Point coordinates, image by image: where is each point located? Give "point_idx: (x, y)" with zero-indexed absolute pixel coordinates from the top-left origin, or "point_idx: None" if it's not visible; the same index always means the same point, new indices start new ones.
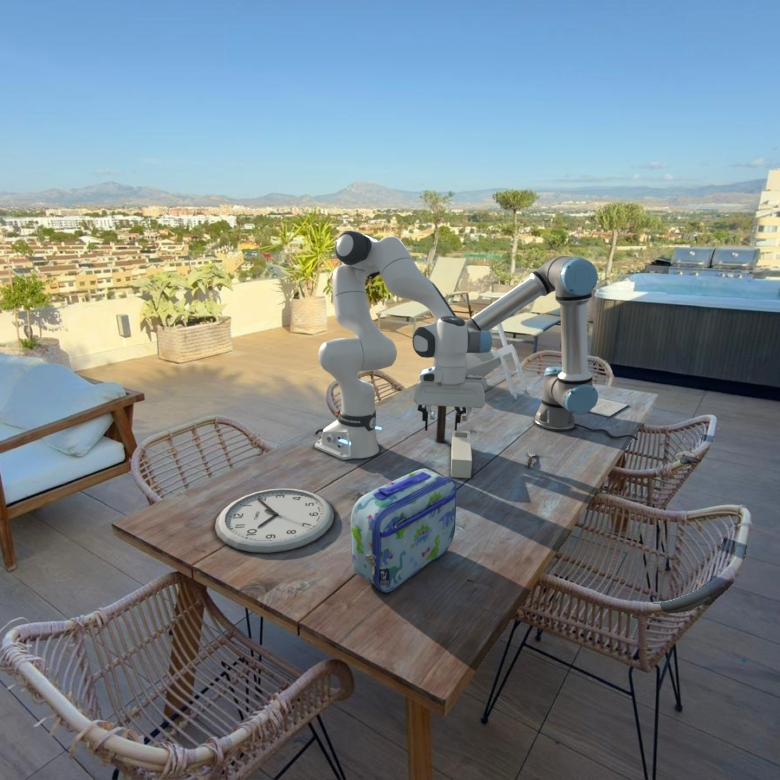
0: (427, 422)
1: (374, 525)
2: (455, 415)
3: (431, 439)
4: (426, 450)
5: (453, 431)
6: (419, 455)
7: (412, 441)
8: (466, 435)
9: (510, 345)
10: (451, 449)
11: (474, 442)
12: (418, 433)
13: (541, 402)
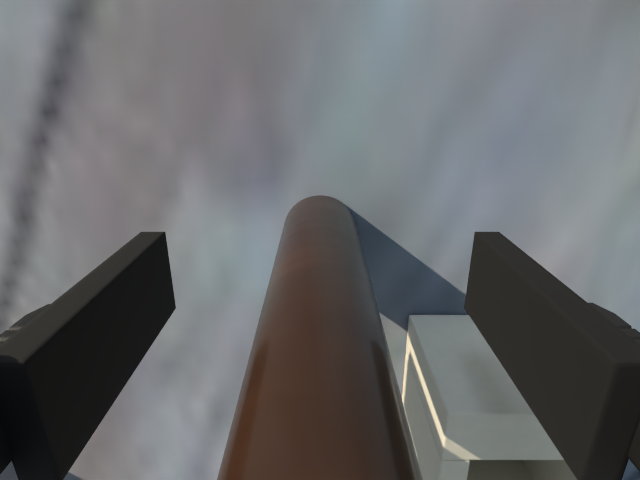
0: (135, 356)
1: None
2: (577, 413)
3: (241, 207)
4: (229, 402)
5: (455, 442)
6: (196, 469)
7: None
8: None
9: None
10: (404, 382)
11: (613, 215)
12: (95, 76)
13: None
